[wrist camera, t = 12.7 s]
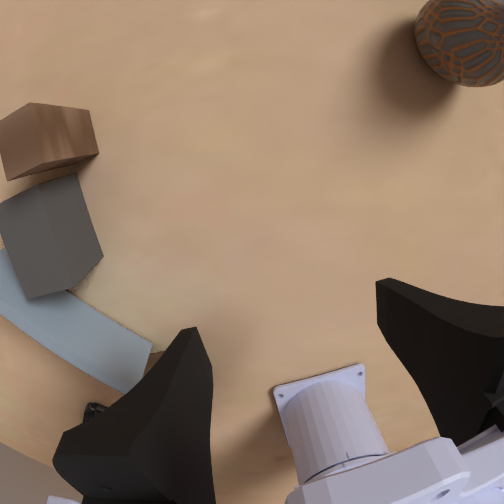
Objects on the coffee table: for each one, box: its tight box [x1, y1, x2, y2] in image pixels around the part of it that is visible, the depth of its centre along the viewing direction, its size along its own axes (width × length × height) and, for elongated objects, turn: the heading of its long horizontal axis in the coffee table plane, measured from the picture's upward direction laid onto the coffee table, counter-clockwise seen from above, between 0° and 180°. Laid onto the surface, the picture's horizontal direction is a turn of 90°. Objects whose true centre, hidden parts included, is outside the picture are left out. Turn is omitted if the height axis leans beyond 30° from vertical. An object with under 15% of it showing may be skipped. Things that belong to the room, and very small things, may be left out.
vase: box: [415, 0, 504, 87], centre depth 12 cm, size 7×7×9 cm
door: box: [0, 247, 152, 394], centre depth 19 cm, size 14×2×5 cm, turn 55°
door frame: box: [0, 103, 165, 378], centre depth 17 cm, size 20×2×7 cm, turn 13°
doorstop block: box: [0, 173, 104, 300], centre depth 17 cm, size 6×4×5 cm, turn 13°
